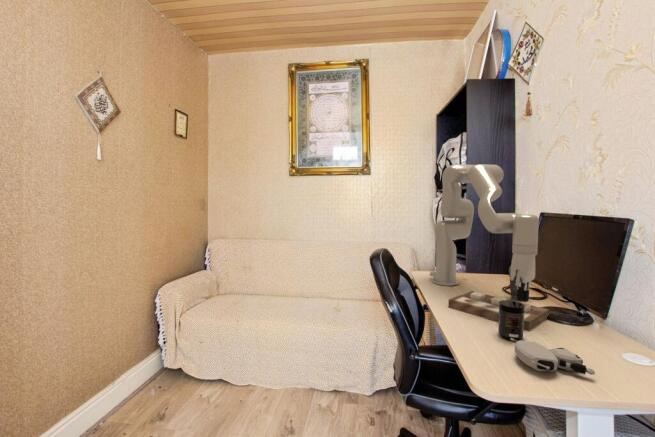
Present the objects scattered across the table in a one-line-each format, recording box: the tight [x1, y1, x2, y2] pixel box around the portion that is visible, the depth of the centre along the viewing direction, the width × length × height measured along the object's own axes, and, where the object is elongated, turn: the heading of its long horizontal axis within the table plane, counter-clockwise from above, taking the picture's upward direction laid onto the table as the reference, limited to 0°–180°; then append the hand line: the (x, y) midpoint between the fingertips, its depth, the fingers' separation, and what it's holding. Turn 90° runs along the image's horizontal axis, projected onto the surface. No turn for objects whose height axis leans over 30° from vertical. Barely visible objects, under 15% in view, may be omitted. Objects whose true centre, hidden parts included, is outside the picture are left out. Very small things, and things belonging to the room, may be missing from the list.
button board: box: [448, 290, 550, 332], centre depth 115 cm, size 28×18×3 cm, turn 38°
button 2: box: [521, 302, 531, 313], centre depth 110 cm, size 4×4×2 cm
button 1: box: [470, 291, 486, 301], centre depth 122 cm, size 4×4×2 cm
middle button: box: [491, 296, 508, 305], centre depth 116 cm, size 4×4×2 cm
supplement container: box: [497, 299, 525, 342], centre depth 94 cm, size 7×7×10 cm
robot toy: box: [511, 338, 596, 376], centre depth 78 cm, size 12×4×15 cm
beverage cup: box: [507, 265, 521, 302], centre depth 129 cm, size 7×7×20 cm
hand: (522, 300), depth 109 cm, fingers closed
